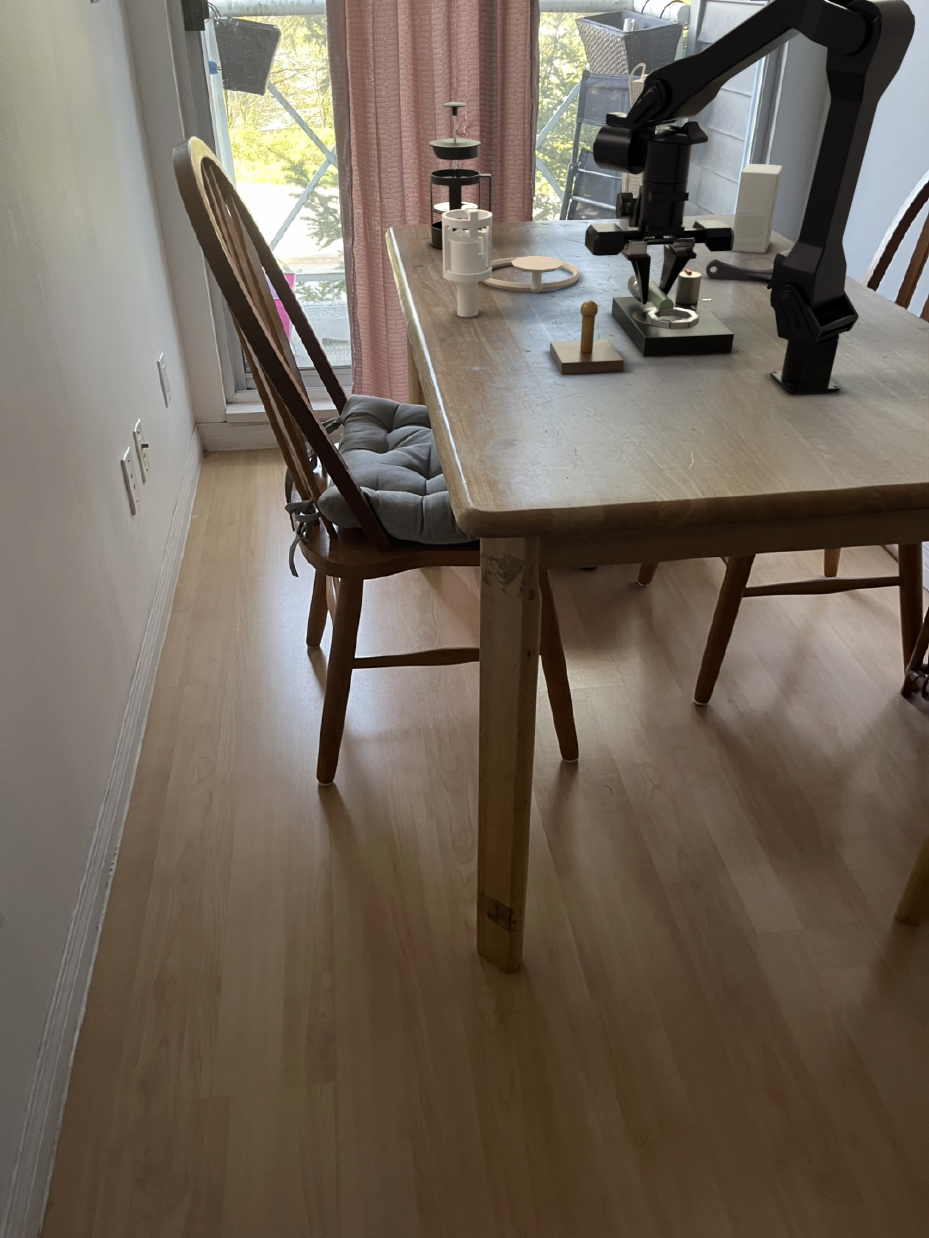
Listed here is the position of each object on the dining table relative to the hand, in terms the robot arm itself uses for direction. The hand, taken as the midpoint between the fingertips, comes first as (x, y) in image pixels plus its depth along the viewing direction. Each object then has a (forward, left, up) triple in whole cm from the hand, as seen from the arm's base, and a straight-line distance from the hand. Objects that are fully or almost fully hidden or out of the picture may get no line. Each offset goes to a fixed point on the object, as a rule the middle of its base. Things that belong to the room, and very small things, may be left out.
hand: (652, 303), depth 129 cm
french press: (+54, +21, -4) cm, 58 cm away
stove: (+1, -3, -4) cm, 5 cm away
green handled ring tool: (-2, 0, -1) cm, 2 cm away
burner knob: (+6, -7, -2) cm, 9 cm away
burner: (0, -1, -2) cm, 2 cm away
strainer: (+13, +24, -4) cm, 27 cm away
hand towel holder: (+29, +12, -4) cm, 31 cm away
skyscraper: (+55, -12, -4) cm, 56 cm away
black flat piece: (+25, -24, -4) cm, 35 cm away
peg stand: (-9, +11, -4) cm, 15 cm away
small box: (+45, -31, -4) cm, 54 cm away
